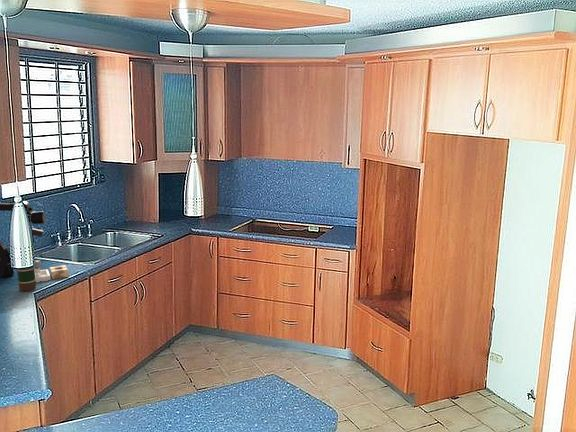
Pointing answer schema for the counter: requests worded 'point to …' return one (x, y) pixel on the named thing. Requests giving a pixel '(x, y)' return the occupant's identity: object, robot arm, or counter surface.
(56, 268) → the hitch block
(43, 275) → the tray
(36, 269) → the steel pin
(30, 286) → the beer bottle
